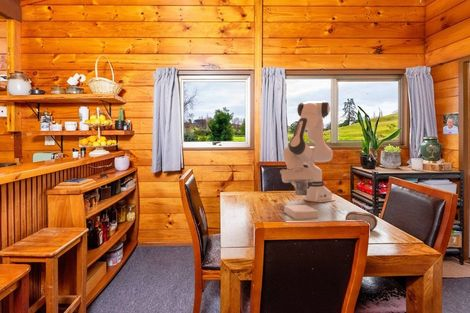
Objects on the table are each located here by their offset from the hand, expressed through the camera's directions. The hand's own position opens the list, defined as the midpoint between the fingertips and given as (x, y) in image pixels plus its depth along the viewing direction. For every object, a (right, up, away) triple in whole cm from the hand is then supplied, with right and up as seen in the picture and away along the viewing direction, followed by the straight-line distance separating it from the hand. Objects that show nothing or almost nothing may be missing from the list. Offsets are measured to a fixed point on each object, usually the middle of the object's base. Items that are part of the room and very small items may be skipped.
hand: (301, 187), depth 184 cm
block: (0, -4, +1) cm, 4 cm away
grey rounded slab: (+25, -19, -25) cm, 40 cm away
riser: (0, -17, +2) cm, 17 cm away
